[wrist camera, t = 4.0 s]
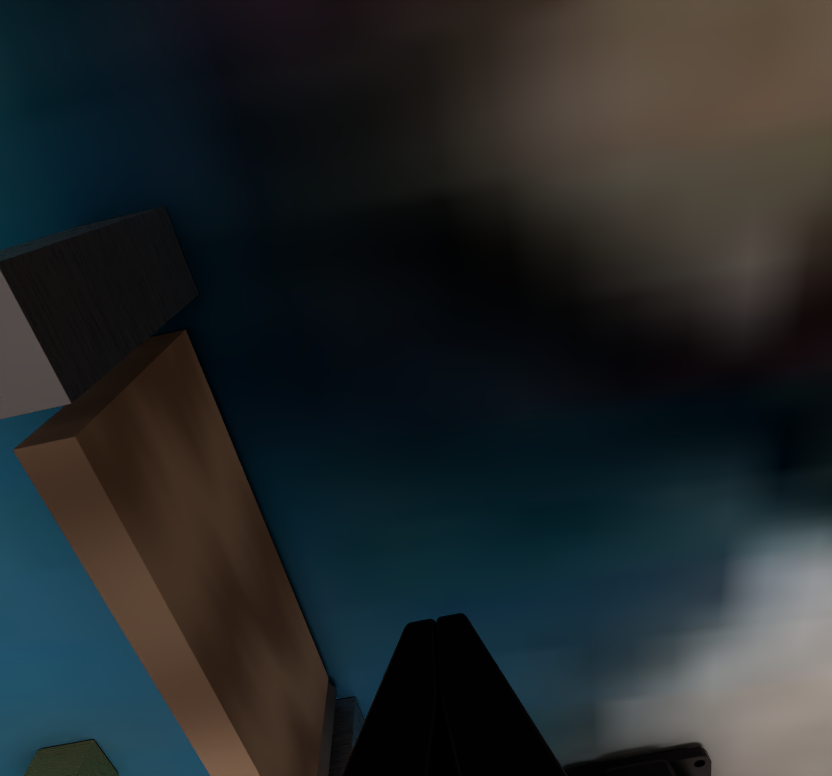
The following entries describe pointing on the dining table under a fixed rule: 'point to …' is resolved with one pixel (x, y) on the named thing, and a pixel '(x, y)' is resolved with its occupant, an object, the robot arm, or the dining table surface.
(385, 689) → the robot arm
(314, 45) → the dining table surface
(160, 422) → the brown wooden plank
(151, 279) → the frame
